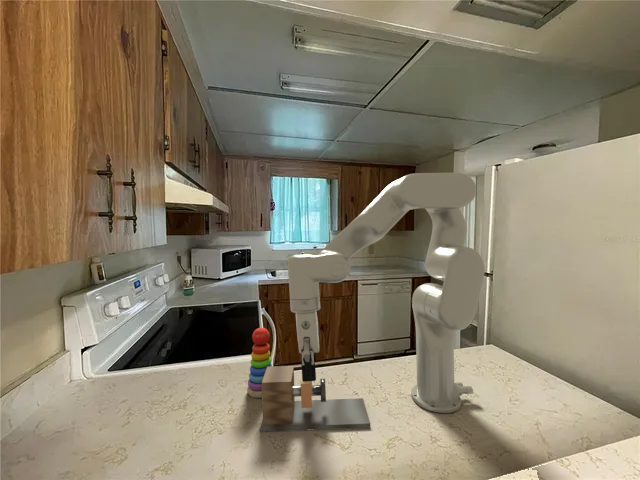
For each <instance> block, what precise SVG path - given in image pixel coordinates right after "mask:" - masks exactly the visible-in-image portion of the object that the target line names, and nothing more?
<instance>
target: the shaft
mask: <svg viewBox="0 0 640 480" xmlns="http://www.w3.org/2000/svg"><path fill="white" fill-rule="evenodd" d="M319 380H320V381H319V383H320V384H312V389H311V391H312V397H317V396H318V397H320V400H321V402H326V400H327V397H326V395H327V394H326V393H327V390H326V378H320V379H319ZM292 395H293V397H295V398H296V397H301V385H294V386H293V387H292Z"/></svg>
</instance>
